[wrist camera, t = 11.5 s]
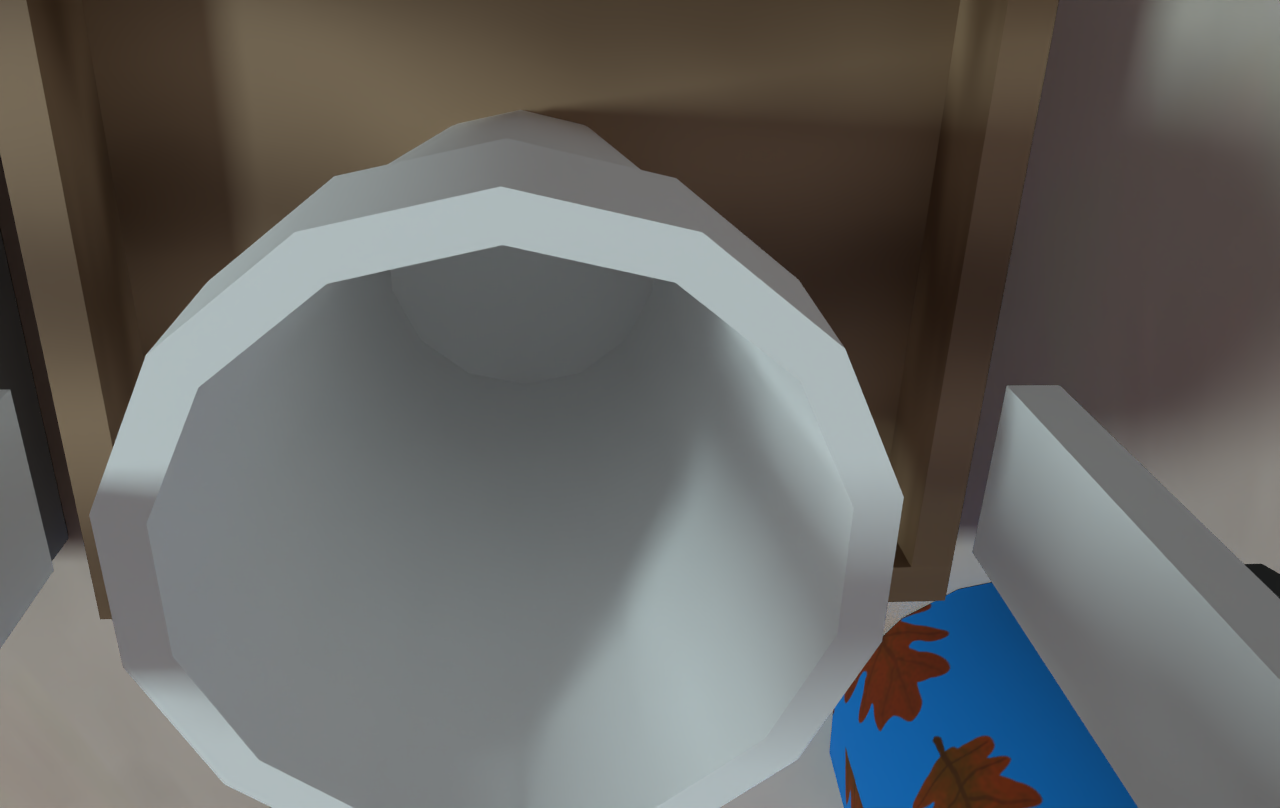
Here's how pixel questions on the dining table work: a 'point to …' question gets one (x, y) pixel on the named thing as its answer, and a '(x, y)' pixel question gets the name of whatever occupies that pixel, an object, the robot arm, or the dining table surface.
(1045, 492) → the robot arm
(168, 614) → the foam cup
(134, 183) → the bin
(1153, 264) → the dining table surface
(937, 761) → the thermos
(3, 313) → the bin
